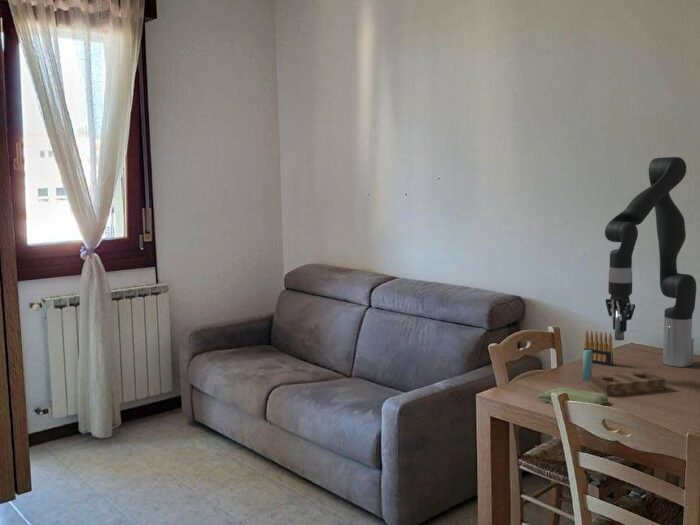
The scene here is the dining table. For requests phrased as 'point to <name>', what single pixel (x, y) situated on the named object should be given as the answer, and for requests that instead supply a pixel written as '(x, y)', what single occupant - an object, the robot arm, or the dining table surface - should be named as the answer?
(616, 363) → the dining table surface
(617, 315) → the steel peg
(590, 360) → the teal peg
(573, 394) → the washcloth
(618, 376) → the hole block
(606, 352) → the ammunition clip
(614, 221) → the robot arm
